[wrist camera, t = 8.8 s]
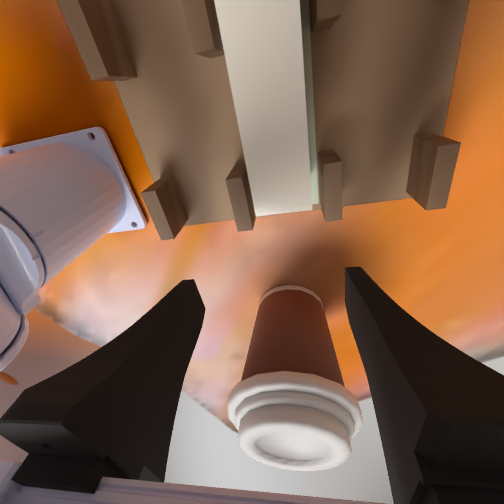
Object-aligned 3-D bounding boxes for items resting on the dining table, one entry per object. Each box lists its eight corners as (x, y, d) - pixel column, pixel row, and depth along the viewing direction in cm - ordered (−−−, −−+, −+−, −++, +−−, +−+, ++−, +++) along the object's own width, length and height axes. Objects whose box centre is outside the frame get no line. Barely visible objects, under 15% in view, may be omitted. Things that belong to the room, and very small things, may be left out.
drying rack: (176, 221, 22) (156, 247, 18) (90, -1, 14) (31, -27, 11) (424, 190, 18) (455, 214, 15) (481, -135, 10) (571, -235, 7)
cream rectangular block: (263, 185, 18) (255, 216, 14) (231, -10, 13) (203, -55, 8) (306, 179, 17) (312, 209, 13) (291, -28, 12) (294, -86, 8)
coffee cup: (353, 286, 23) (402, 438, 13) (318, 345, 28) (335, 486, 18) (256, 263, 23) (233, 399, 13) (239, 327, 28) (212, 459, 18)
